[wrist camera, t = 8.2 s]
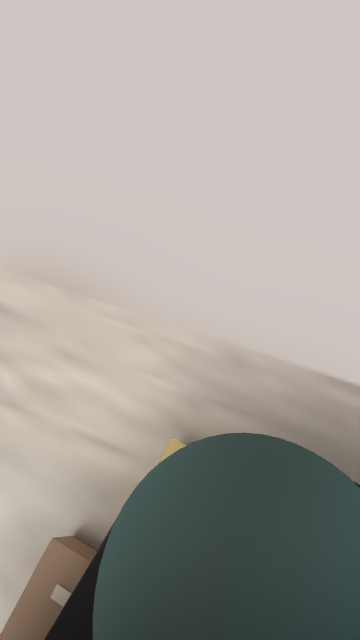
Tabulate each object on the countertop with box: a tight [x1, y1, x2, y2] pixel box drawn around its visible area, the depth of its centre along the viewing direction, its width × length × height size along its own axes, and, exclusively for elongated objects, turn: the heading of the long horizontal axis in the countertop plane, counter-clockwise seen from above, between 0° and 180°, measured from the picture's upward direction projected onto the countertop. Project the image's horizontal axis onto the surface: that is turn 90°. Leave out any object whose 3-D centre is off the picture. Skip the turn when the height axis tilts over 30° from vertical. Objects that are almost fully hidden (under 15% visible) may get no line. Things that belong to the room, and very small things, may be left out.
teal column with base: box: [93, 433, 360, 640], centre depth 8 cm, size 7×5×11 cm, turn 66°
